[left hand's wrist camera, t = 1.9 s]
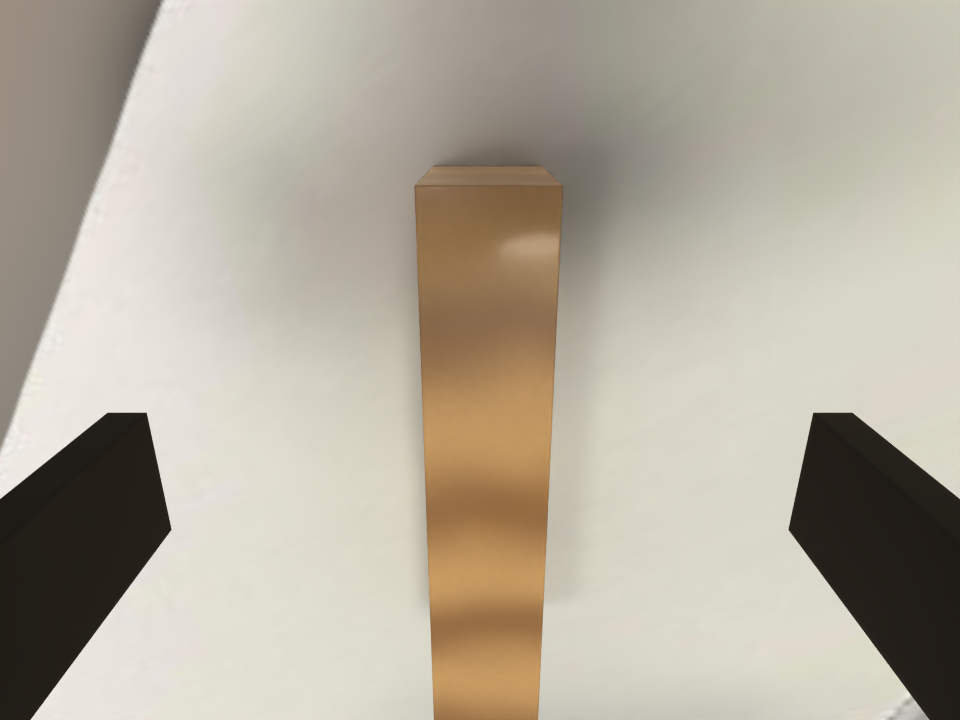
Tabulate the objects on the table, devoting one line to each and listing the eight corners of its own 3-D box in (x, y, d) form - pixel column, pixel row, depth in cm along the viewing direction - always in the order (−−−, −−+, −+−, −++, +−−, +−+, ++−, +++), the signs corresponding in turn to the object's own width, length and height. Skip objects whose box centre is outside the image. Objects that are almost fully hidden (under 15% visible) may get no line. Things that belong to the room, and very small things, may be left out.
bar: (432, 166, 29) (414, 185, 21) (542, 166, 29) (563, 185, 21) (444, 606, 38) (434, 728, 31) (527, 606, 38) (537, 728, 31)
